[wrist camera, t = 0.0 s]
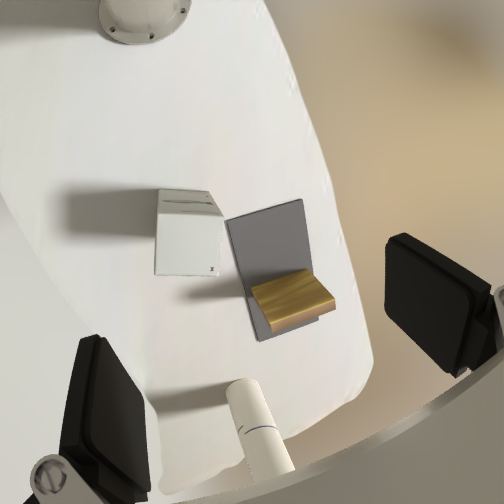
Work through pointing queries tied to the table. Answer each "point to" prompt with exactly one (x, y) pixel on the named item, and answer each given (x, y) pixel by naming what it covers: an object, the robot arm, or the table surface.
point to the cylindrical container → (257, 431)
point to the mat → (271, 253)
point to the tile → (292, 300)
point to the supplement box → (187, 234)
